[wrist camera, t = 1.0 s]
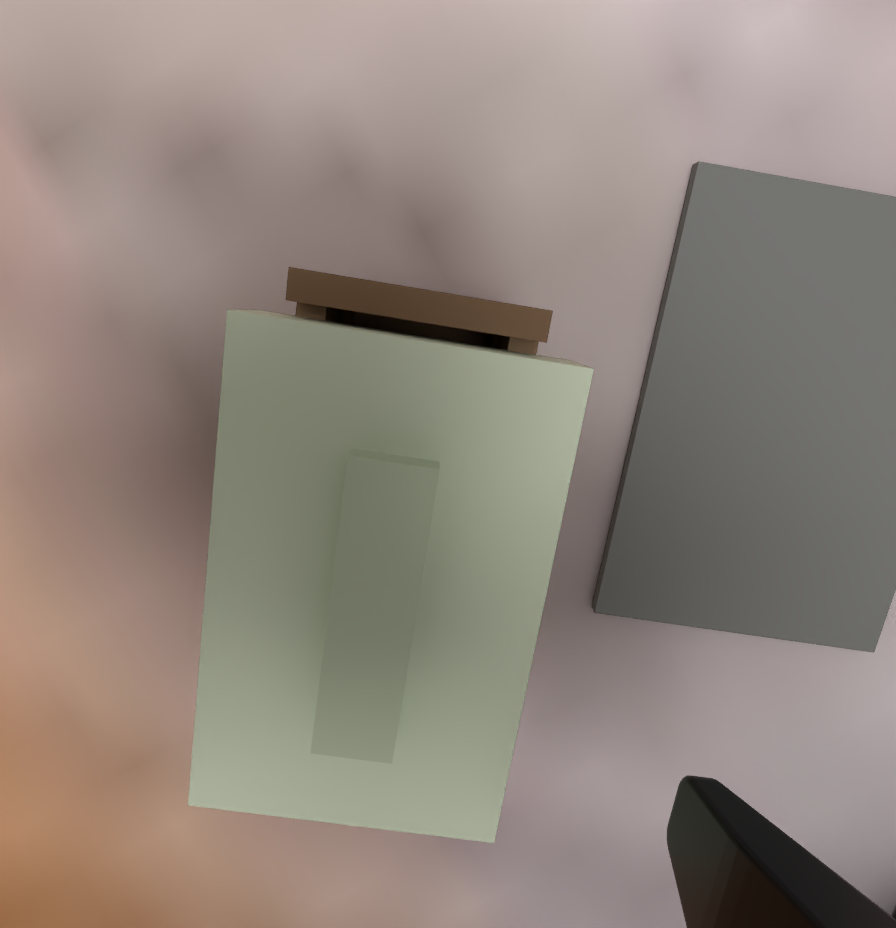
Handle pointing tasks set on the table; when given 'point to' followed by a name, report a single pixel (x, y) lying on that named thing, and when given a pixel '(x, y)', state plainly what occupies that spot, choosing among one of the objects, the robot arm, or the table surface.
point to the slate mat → (766, 420)
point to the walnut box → (417, 311)
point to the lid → (376, 571)
